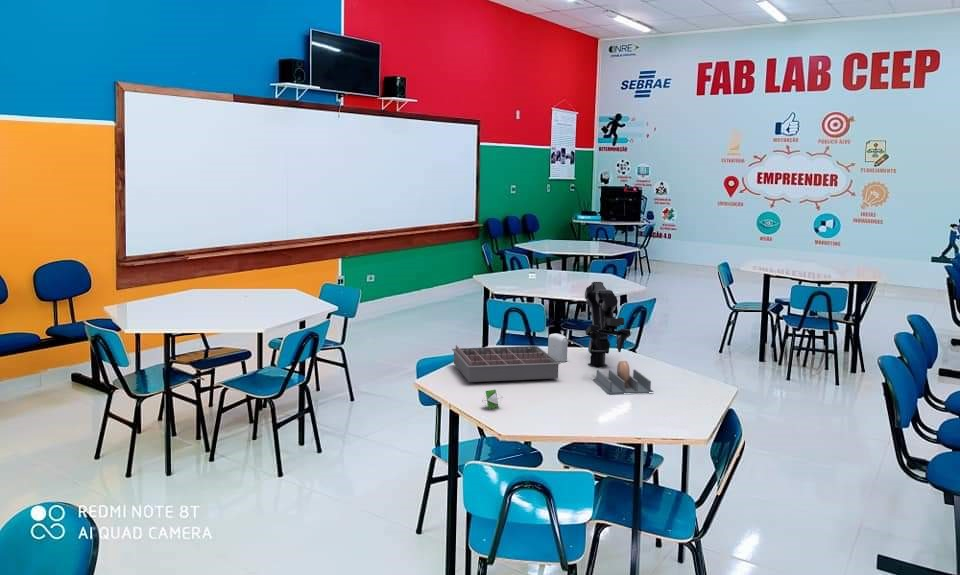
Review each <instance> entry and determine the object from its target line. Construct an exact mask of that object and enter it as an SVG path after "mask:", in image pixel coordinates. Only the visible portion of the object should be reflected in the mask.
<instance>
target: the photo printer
mask: <svg viewBox="0 0 960 575" xmlns="http://www.w3.org/2000/svg"><path fill="white" fill-rule="evenodd" d="M547 339H548V340H547V341H548V342H547V354H549V355H550V356H551V357H553V358H554V359H555V360H557V361H558V362H559V363H565V362H567V361H568V342H569V341H568V338H567V337H566V335H563V334H560V333H551V334H550V333H549V336H548V338H547Z"/></svg>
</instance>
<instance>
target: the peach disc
mask: <svg viewBox="0 0 960 575" xmlns="http://www.w3.org/2000/svg"><path fill="white" fill-rule="evenodd" d="M616 367H617V369H616V375H618V376H619V377H620V378H621V379H622V380H624V381H625V387H628V385H629V384H628V383H627V382H628V381H629V376H631V373H630V366H629V363H628V361H626V360H619V361H618V363H617V366H616Z"/></svg>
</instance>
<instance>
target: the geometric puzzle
mask: <svg viewBox="0 0 960 575" xmlns="http://www.w3.org/2000/svg"><path fill="white" fill-rule="evenodd" d="M497 395H498V394H497V389H491V390H485V396H484V397H483V402H485V401H486V405H487V407H488V408H493V409H496V408H495V407H498V408H499V402H500V404H501V402H502V401H498V400H499V399H500V398H501V399H503V398H504V397H503V396H502V395H500V397H498V396H497ZM485 397H486V399H485ZM484 399H485V400H484ZM488 408H487V409H488Z"/></svg>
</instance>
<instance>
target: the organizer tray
mask: <svg viewBox="0 0 960 575" xmlns="http://www.w3.org/2000/svg"><path fill="white" fill-rule="evenodd" d="M451 350H452V351H453V365H455V367H456V369H457V370H458V371H459V372H460V373H461V375H463V377H464V378H465V379H466V381H468V383H476V382H477V383H478V382H479V383H480V382H499V381H501V382H502V381H505V382H506V381H525V380H545V379H546V380H547V379H559V365H561V363H562V362H560V361H557V360H555V359H554V358H553V357H551V356H550V355H549V354H548V352H546V351H544V350H543V349H542V348H541V347H539V346H538V345H522V346H521V345H520V346H517V345H516V346H495V347H494V346H492V347H491V346H489V347H488V346H487V347H464V348H463V347H459V346H458V345H457V344H456V345H455V348H451Z"/></svg>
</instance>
